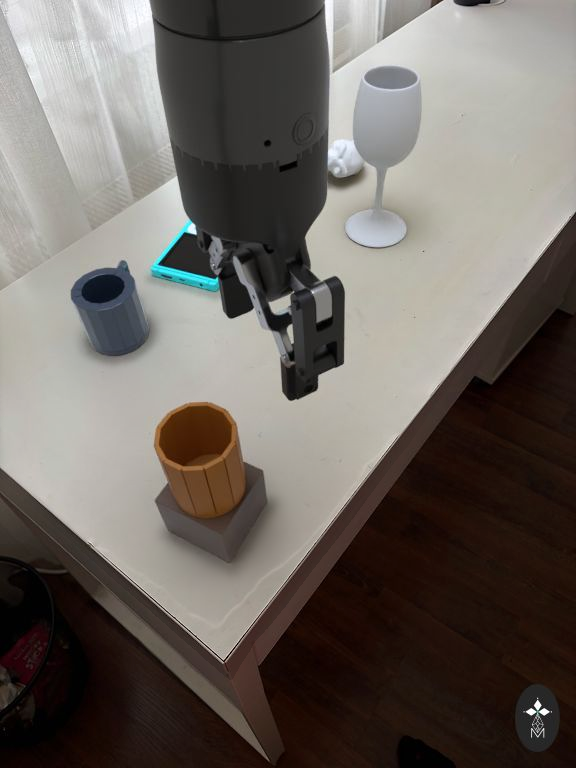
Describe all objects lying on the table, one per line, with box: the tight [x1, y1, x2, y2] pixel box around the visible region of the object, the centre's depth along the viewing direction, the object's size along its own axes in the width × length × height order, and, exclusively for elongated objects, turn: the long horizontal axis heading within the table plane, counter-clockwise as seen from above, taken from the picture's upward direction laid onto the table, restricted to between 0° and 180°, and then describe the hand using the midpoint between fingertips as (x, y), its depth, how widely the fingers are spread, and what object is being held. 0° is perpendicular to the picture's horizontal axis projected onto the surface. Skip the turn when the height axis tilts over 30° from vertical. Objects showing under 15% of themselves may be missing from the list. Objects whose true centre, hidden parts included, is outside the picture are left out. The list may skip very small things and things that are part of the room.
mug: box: [70, 259, 150, 357], centre depth 71 cm, size 10×7×8 cm
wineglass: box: [344, 64, 423, 248], centre depth 76 cm, size 9×9×21 cm
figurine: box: [328, 138, 366, 179], centre depth 91 cm, size 8×9×12 cm
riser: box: [154, 460, 268, 564], centre depth 55 cm, size 7×7×6 cm
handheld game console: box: [150, 219, 220, 292], centre depth 82 cm, size 10×16×1 cm, turn 158°
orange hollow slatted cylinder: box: [153, 401, 246, 518], centre depth 49 cm, size 6×6×8 cm
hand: (268, 350), depth 40 cm, fingers open, 8 cm apart
